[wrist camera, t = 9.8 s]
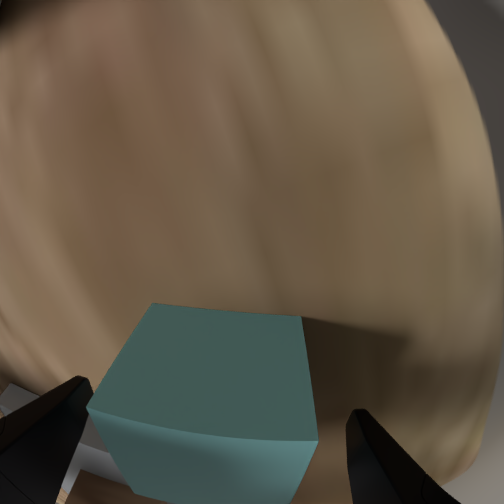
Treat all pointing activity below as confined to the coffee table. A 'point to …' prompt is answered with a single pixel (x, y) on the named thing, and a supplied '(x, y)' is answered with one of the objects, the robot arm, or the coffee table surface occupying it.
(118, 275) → the coffee table surface
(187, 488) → the teal block
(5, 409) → the base plate
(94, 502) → the walnut block
